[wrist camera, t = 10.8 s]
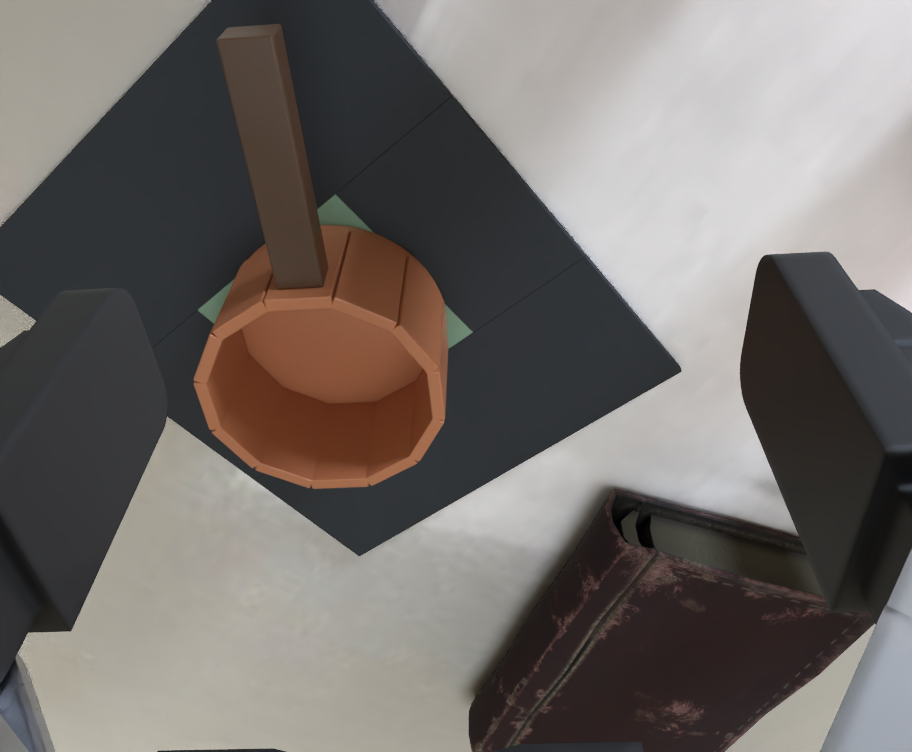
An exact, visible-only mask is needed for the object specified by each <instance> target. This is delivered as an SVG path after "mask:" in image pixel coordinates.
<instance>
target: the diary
mask: <svg viewBox="0 0 912 752" xmlns="http://www.w3.org/2000/svg"><path fill="white" fill-rule="evenodd" d="M873 624H875V622H874V620H873V618H872V616H871V613H870V612H851V613H831V612H830V610H829V607H828V605H827V603H826V600H825V598H824V595H823V593H822V590H821V588H820V586H819V583H818V581H817V578H816V576H815V574H814V571H813V569H812V566H811V564H810V561H809V559H808V557H807V554H806V552H805V549H804V547H803V544H802V542H801V540H800V539H799V538H796V537H792V536H788V535H784V534H780V533H777V532H773V531H769V530H765V529H762V528H758V527H754V526H750V525H746V524H743V523H739V522H735V521H731V520H728V519H724V518H720V517H716V516H712V515H709V514H705V513H701V512H697V511H694V510H690V509H686V508H682V507H679V506H675V505H671V504H667V503H663V502H660V501H656V500H652V499H648V498H647V499H646V500H645V499H644V498H643V497H641V496H637V495H633V494H629V493H626V492H622V491H618V490H614V491H613V492H611V494H610V495H609V497H608V498H607V500H606V502H605V503H604V505H603V506H602V508H601V509H600V511H599V513H598V514H597V516H596V517H595V519H594V521H593V522H592V524H591V525H590V527H589V529H588V530H587V532H586V534H585V535H584V537H583V538H582V540H581V542H580V543H579V545H578V546H577V548H576V550H575V551H574V553H573V554H572V556H571V558H570V559H569V561H568V562H567V564H566V565H565V567H564V568H563V569H562V571H561V572H560V574H559V575H558V577H557V578H556V579H555V581H554V582H553V584H552V585H551V586H550V588H549V589H548V591H547V592H546V593H545V595H544V596H543V598H542V599H541V601H540V602H539V603H538V605H537V606H536V608H535V609H534V610H533V612H532V613H531V615H530V616H529V618H528V620H527V621H526V623H525V624H524V626H523V628H522V629H521V631H520V633H519V634H518V636H517V638H516V639H515V641H514V642H513V644H512V646H511V647H510V649H509V651H508V652H507V654H506V656H505V657H504V659H503V661H502V662H501V663H500V665H499V666H498V668H497V669H496V670H495V672H494V673H493V674H492V676H491V677H490V678H489V680H488V681H487V683H486V684H485V685H484V687H483V688H482V689H481V691H480V692H479V693H478V695H477V696H476V698H475V699H474V701H473V702H472V704H471V707H470V710H469V738H470V744H471V750H472V752H493V751H497V750H500V749H504V748H507V747H511V746H514V745H518V744H545V743H597V742H642V746H643V752H725V751H726V750H727V749H728V748H729V747H730V746H731V745H732V744H733V743H735V742H736V741H737V740H738V739H739V738H740V737H741V736H742V735H743V734H744V733H746V732H747V731H748V730H749V729H750V728H751V727H752V726H753V725H754V724H755V723H756V722H758V721H759V720H760V719H761V718H762V717H763V716H764V715H765V714H767V713H768V712H769V711H771V710H772V709H773V708H775V707H776V706H777V705H779V704H780V703H781V702H783V701H784V700H785V699H787V698H788V697H789V696H791V695H792V694H793V693H795V692H796V691H797V690H799V689H800V688H801V687H803V686H804V685H805V684H807V683H808V682H810V681H811V680H812V679H814V678H815V677H816V676H818V675H819V674H820V673H821V672H822V671H823V670H824V669H825V668H827V667H828V666H829V665H830V664H831V663H832V662H833V661H834V660H835V659H836V658H837V657H839V656H840V655H841V654H842V653H843V652H844V651H845V650H846V649H847V648H848V647H849V646H851V645H852V644H853V643H854V642H855V641H856V640H857V639H858V638H859V637H860V636H861V635H863V634H864V633H865V632H866V631H867V630H868V629H869V628H870V627H871V626H872V625H873Z"/></svg>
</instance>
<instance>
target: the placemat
mask: <svg viewBox="0 0 912 752" xmlns="http://www.w3.org/2000/svg"><path fill="white" fill-rule="evenodd" d="M269 24H280V25H281V26H282V31H283V36H284V42H285V47H286V52H287V57H288V62H289V67H290V72H291V77H292V83H293V88H294V93H295V98H296V103H297V108H298V113H299V118H300V124H301V129H302V134H303V139H304V144H305V149H306V154H307V159H308V165H309V170H310V175H311V180H312V185H313V190H314V195H315V200H316V206H317V211H318V216H319V221H320V225H340V226H349V227H354V228H358V229H363V230H367V231H369V232H372V233H375V234H378V235H380V236H382V237H384V238H386V239H388V240H390V241H392V242H394V243H396V244H397V245H399V246H400V247H402V248H403V249H405V250H406V251H408V252H409V253H410V254H411V255H412V256H414V257H415V258H416V259H417V260H418V261H419V262H420V263H421V264H422V265H423V266H424V268H425V269H426V270H427V271H428V272H429V274H430V275H431V277H432V278H433V280H434V281H435V283H436V285H437V287H438V289H439V291H440V293H441V295H442V299H443V300H444V305H445V310H446V316H447V335H448V365H447V388H446V410H445V419H444V424H443V425H442V427H441V428H440V430H439V432H438V433H437V435H436V436H435V438H434V440H433V441H432V443H431V444H430V446H429V447H428V449H427V451H426V452H425V454H424V455H423V457H422V459H421V460H420V461H417V464H415V465H413V466H411V467H409V468H407V469H405V470H403V471H401V472H399V473H397V474H395V475H393V476H391V477H389V478H387V479H385V480H383V481H381V482H379V483H377V484H375V485H373V486H371V485H370V484H369V486H368V487H348V488H322V489H313V488H312V485H311V486H310V488H307V487H304V486H301V485H298V484H295V483H292V482H289V481H286V480H283V479H280V478H277V477H274V476H271V475H268V474H265V473H262V472H259V471H256V470H255V468H256V467H254V468H251V467H250V466H249V465H248V464H247V463H245V462H244V461H243V460H242V459H241V458H240V457H239V456H237V455H236V454H235V453H234V452H233V451H232V450H231V449H229V448H228V447H227V446H226V445H225V444H224V443H223V442H222V441H220V440H219V439H218V438H217V437H216V436H215V435H214V434H212V430H210V429H209V427H208V424H207V421H206V418H205V415H204V413H203V410H202V407H201V404H200V401H199V398H198V395H197V392H196V389H195V387H194V376H195V373H196V370H197V368H198V365H199V362H200V359H201V357H202V354H203V351H204V348H205V345H206V343H207V340H208V337H209V334H210V332H211V330H212V328H213V326H214V323H215V321H216V319H217V317H218V315H219V312H220V310H221V308H222V306H223V304H224V301H225V299H226V297H227V295H228V292H229V290H230V288H231V286H232V284H233V281H234V279H235V277H236V275H237V273H238V270H239V268H240V266H241V265H242V264H243V262H245V261H246V260H248V259H249V258H250V257H251V256H252V255H253V254H254V252H255V251H256V250H258V249H259V248H260V247H261V246H263V245H264V244H265V239H264V235H263V231H262V227H261V223H260V219H259V215H258V211H257V206H256V202H255V198H254V194H253V190H252V186H251V182H250V178H249V174H248V170H247V166H246V161H245V157H244V153H243V149H242V145H241V141H240V137H239V133H238V129H237V125H236V121H235V116H234V112H233V108H232V104H231V100H230V96H229V92H228V88H227V84H226V80H225V76H224V71H223V67H222V63H221V59H220V55H219V51H218V47H217V43H216V40H217V39H218V38H219V36H220V35H221V34H222V33H223V32H224V31H225V30H226V29H227V28H228V27H242V26H255V25H269ZM104 288H123V289H125V290H126V291H127V292H128V293H129V294H130V295H131V296H132V298H133V300H134V302H135V304H136V307H137V309H138V312H139V315H140V317H141V320H142V323H143V325H144V328H145V331H146V334H147V336H148V339H149V342H150V344H151V347H152V350H153V352H154V355H155V358H156V361H157V363H158V366H159V369H160V371H161V374H162V377H163V379H164V383H165V386H166V391H167V401H168V410H167V416H168V417H169V418H170V419H172V420H173V421H174V422H176V423H177V424H179V425H180V426H181V427H183V428H184V429H185V430H187V431H188V432H190V433H191V434H192V435H194V436H195V437H196V438H198V439H199V440H201V441H202V442H203V443H205V444H206V445H207V446H209V447H210V448H212V449H213V450H214V451H216V452H217V453H218V454H220V455H221V456H222V457H224V458H225V459H227V460H228V461H229V462H231V463H232V464H233V465H235V466H236V467H238V468H239V469H240V470H242V471H243V472H244V473H246V474H247V475H249V476H250V477H251V478H253V479H254V480H255V481H257V482H258V483H260V484H261V485H262V486H264V487H265V488H266V489H268V490H269V491H270V492H272V493H273V494H275V495H276V496H277V497H279V498H280V499H281V500H283V501H284V502H286V503H287V504H288V505H290V506H291V507H292V508H294V509H295V510H297V511H298V512H299V513H301V514H302V515H303V516H305V517H306V518H308V519H309V520H310V521H312V522H313V523H314V524H316V525H317V526H318V527H320V528H321V529H323V530H324V531H325V532H327V533H328V534H329V535H331V536H332V537H334V538H335V539H336V540H338V541H339V542H340V543H342V544H343V545H345V546H346V547H347V548H349V549H350V550H351V551H353V552H354V553H355V554H357V555H358V556H361V555H362V554H364V553H366V552H368V551H369V550H371V549H373V548H375V547H376V546H378V545H380V544H382V543H383V542H385V541H387V540H389V539H390V538H392V537H394V536H395V535H397V534H399V533H401V532H402V531H404V530H406V529H408V528H409V527H411V526H413V525H415V524H416V523H418V522H420V521H422V520H423V519H425V518H427V517H429V516H430V515H432V514H434V513H436V512H437V511H439V510H441V509H443V508H444V507H446V506H448V505H450V504H451V503H453V502H455V501H457V500H458V499H460V498H462V497H463V496H465V495H467V494H469V493H470V492H472V491H474V490H476V489H477V488H479V487H481V486H483V485H484V484H486V483H488V482H490V481H491V480H493V479H495V478H497V477H498V476H500V475H502V474H504V473H505V472H507V471H509V470H511V469H512V468H514V467H516V466H518V465H519V464H521V463H523V462H525V461H526V460H528V459H530V458H531V457H533V456H535V455H537V454H538V453H540V452H542V451H544V450H545V449H547V448H549V447H551V446H552V445H554V444H556V443H558V442H559V441H561V440H563V439H565V438H566V437H568V436H570V435H572V434H573V433H575V432H577V431H579V430H580V429H582V428H584V427H586V426H587V425H589V424H591V423H593V422H594V421H596V420H598V419H599V418H601V417H603V416H605V415H606V414H608V413H610V412H612V411H613V410H615V409H617V408H619V407H620V406H622V405H624V404H626V403H627V402H629V401H631V400H633V399H634V398H636V397H638V396H640V395H641V394H643V393H645V392H647V391H648V390H650V389H652V388H654V387H655V386H657V385H659V384H661V383H662V382H664V381H666V380H667V379H669V378H671V377H673V376H674V375H676V374H678V373H680V372H681V368H680V366H679V365H678V364H677V363H676V361H675V360H674V359H673V358H672V357H671V355H670V354H669V353H668V352H667V351H666V349H665V348H664V347H663V346H662V345H661V344H660V342H659V341H658V340H657V339H656V338H655V336H654V335H653V334H652V333H651V332H650V330H649V329H648V328H647V327H646V326H645V324H644V323H643V322H642V321H641V320H640V318H639V317H638V316H637V315H636V314H635V312H634V311H633V310H632V309H631V308H630V307H629V305H628V304H627V303H626V302H625V301H624V299H623V298H622V297H621V296H620V295H619V293H618V292H617V291H616V290H615V289H614V287H613V286H612V285H611V284H610V283H609V281H608V280H607V279H606V278H605V277H604V276H603V274H602V273H601V272H600V271H599V270H598V268H597V267H596V266H595V265H594V264H593V262H592V261H591V260H590V259H589V258H588V256H587V255H586V254H585V253H584V252H583V250H582V249H581V248H580V247H579V246H578V244H577V243H576V242H575V241H574V240H573V239H572V237H571V236H570V235H569V234H568V233H567V231H566V230H565V229H564V228H563V227H562V225H561V224H560V223H559V222H558V221H557V219H556V218H555V217H554V216H553V215H552V213H551V212H550V211H549V210H548V209H547V207H546V206H545V205H544V204H543V203H542V202H541V200H540V199H539V198H538V197H537V196H536V194H535V193H534V192H533V191H532V190H531V188H530V187H529V186H528V185H527V184H526V182H525V181H524V180H523V179H522V178H521V176H520V175H519V174H518V173H517V172H516V170H515V169H514V168H513V167H512V166H511V165H510V163H509V162H508V161H507V160H506V159H505V157H504V156H503V155H502V154H501V153H500V151H499V150H498V149H497V148H496V147H495V145H494V144H493V143H492V142H491V141H490V139H489V138H488V137H487V136H486V135H485V134H484V132H483V131H482V130H481V129H480V128H479V126H478V125H477V124H476V123H475V122H474V120H473V119H472V118H471V117H470V116H469V114H468V113H467V112H466V111H465V110H464V108H463V107H462V106H461V105H460V104H459V102H458V101H457V100H456V99H455V98H454V97H453V95H451V93H450V92H449V91H448V89H447V88H446V87H445V86H444V85H443V83H442V82H441V81H440V80H439V79H438V77H437V76H436V75H435V74H434V73H433V71H432V70H431V69H430V68H429V67H428V65H427V64H426V63H425V62H424V61H423V60H422V58H421V57H420V56H419V55H418V54H417V52H416V51H415V50H414V49H413V48H412V46H411V45H410V44H409V43H408V42H407V40H406V39H405V38H404V37H403V36H402V34H401V33H400V32H399V31H398V30H397V29H396V27H395V26H394V25H393V24H392V23H391V21H390V20H389V19H388V18H387V17H386V15H385V14H384V13H383V12H382V11H381V9H380V8H379V7H378V6H377V5H376V3H375V2H374V1H373V0H212V1H211V2H210V3H209V4H208V5H207V7H206V8H205V9H204V10H203V11H202V12H201V13H200V14H199V15H198V16H197V17H196V18H195V19H194V20H193V22H192V23H191V24H190V25H189V26H188V27H187V28H186V29H185V30H184V31H183V32H182V33H181V34H180V36H179V37H178V38H177V39H176V40H175V41H174V42H173V43H172V44H171V45H170V46H169V47H168V48H167V49H166V51H165V52H164V53H163V54H162V55H161V56H160V57H159V58H158V59H157V60H156V61H155V62H154V63H153V64H152V66H151V67H150V68H149V69H148V70H147V71H146V72H145V73H144V74H143V75H142V76H141V77H140V78H139V80H138V81H137V82H136V83H135V84H134V85H133V86H132V87H131V88H130V89H129V90H128V91H127V92H126V93H125V95H124V96H123V97H122V98H121V99H120V100H119V101H118V102H117V103H116V104H115V105H114V106H113V107H112V108H111V110H110V111H109V112H108V113H107V114H106V115H105V116H104V117H103V118H102V119H101V120H100V121H99V122H98V123H97V125H96V126H95V127H94V128H93V129H92V130H91V131H90V132H89V133H88V134H87V135H86V136H85V137H84V139H83V140H82V141H81V142H80V143H79V144H78V145H77V146H76V147H75V148H74V149H73V150H72V151H71V152H70V154H69V155H68V156H67V157H66V158H65V159H64V160H63V161H62V162H61V163H60V164H59V165H58V166H57V167H56V169H55V170H54V171H53V172H52V173H51V174H50V175H49V176H48V177H47V178H46V179H45V180H44V181H43V183H42V184H41V185H40V186H39V187H38V188H37V189H36V190H35V191H34V192H33V193H32V194H31V195H30V196H29V198H28V199H27V200H26V201H25V202H24V203H23V204H22V205H21V206H20V207H19V208H18V209H17V210H16V211H15V213H14V214H13V215H12V216H11V217H10V218H9V219H8V220H7V221H6V222H5V223H4V224H3V225H2V227H1V228H0V295H2V296H3V297H4V298H6V299H7V300H9V301H10V302H11V303H13V304H14V305H15V306H17V307H18V308H20V309H21V310H22V311H24V312H25V313H26V314H28V315H29V316H30V317H32V318H33V319H35V320H36V321H37V320H38V318H39V317H40V316H41V315H42V313H43V312H44V311H45V309H46V308H47V307H48V305H49V304H50V303H51V301H52V300H53V299H54V298H55V296H56V295H57V294H58V293H60V292H62V291H66V290H85V289H104Z"/></svg>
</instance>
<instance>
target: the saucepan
mask: <svg viewBox="0 0 912 752" xmlns="http://www.w3.org/2000/svg"><path fill="white" fill-rule="evenodd" d="M216 43H217V47H218V51H219V55H220V59H221V63H222V67H223V71H224V76H225V80H226V84H227V88H228V92H229V96H230V100H231V104H232V108H233V112H234V116H235V121H236V125H237V129H238V133H239V137H240V141H241V145H242V149H243V153H244V157H245V161H246V166H247V170H248V174H249V178H250V182H251V186H252V190H253V194H254V198H255V202H256V206H257V211H258V215H259V219H260V223H261V227H262V231H263V235H264V239H265V244H264V245H263V246H261V247H260V248H259V249H258V250H256V251H255V252H254V254H253V255H252V256H251V257H250V258H249V259H248V260H246V261H245V262H243V264H242V265H241V266H240V268H239V270H238V273H237V275H236V277H235V279H234V281H233V284H232V286H231V288H230V290H229V292H228V295H227V297H226V299H225V301H224V304H223V306H222V308H221V310H220V312H219V315H218V317H217V319H216V321H215V323H214V326H213V328H212V330H211V332H210V334H209V337H208V340H207V343H206V345H205V348H204V351H203V354H202V357H201V359H200V362H199V365H198V368H197V370H196V373H195V376H194V387H195V389H196V392H197V395H198V398H199V401H200V404H201V407H202V410H203V413H204V415H205V418H206V421H207V424H208V427H209V429H210V430H212V434H214V435H215V436H216V437H217V438H218V439H219V440H220V441H222V442H223V443H224V444H225V445H226V446H227V447H228V448H229V449H231V450H232V451H233V452H234V453H235V454H236V455H237V456H239V457H240V458H241V459H242V460H243V461H244V462H245V463H247V464H248V465H249V466H250V467H251V468H254V467H256V468H255V470H256V471H259V472H262V473H265V474H268V475H271V476H274V477H277V478H280V479H283V480H286V481H289V482H292V483H295V484H298V485H301V486H304V487H307V488H310V486H311V485H312V488H313V489H322V488H348V487H368V486H369V484H370V485H371V486H373V485H375V484H377V483H379V482H381V481H383V480H385V479H387V478H389V477H391V476H393V475H395V474H397V473H399V472H401V471H403V470H405V469H407V468H409V467H411V466H413V465H415V464H417V461H420V460H421V459H422V457H423V455H424V454H425V452H426V451H427V449H428V447H429V446H430V444H431V443H432V441H433V440H434V438H435V436H436V435H437V433H438V432H439V430H440V428H441V427H442V425H443V424H444V419H445V410H446V388H447V365H448V335H447V316H446V310H445V305H444V300H443V299H442V295H441V293H440V291H439V289H438V287H437V285H436V283H435V281H434V280H433V278H432V277H431V275H430V274H429V272H428V271H427V270H426V269H425V268H424V266H423V265H422V264H421V263H420V262H419V261H418V260H417V259H416V258H415V257H414V256H412V255H411V254H410V253H409V252H408V251H406V250H405V249H403V248H402V247H400V246H399V245H397V244H396V243H394V242H392V241H390V240H388V239H386V238H384V237H382V236H380V235H378V234H375V233H372V232H369V231H367V230H363V229H358V228H354V227H349V226H340V225H320V221H319V216H318V211H317V206H316V200H315V195H314V190H313V185H312V180H311V175H310V170H309V165H308V159H307V154H306V149H305V144H304V139H303V134H302V129H301V124H300V118H299V113H298V108H297V103H296V98H295V93H294V88H293V83H292V77H291V72H290V67H289V62H288V57H287V52H286V47H285V42H284V36H283V31H282V26H281V25H280V24H269V25H255V26H242V27H228V28H227V29H226V30H225V31H224V32H223V33H222V34H221V35H220V36H219V38H218V39H217V40H216Z"/></svg>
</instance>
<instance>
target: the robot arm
mask: <svg viewBox="0 0 912 752" xmlns="http://www.w3.org/2000/svg"><path fill="white" fill-rule="evenodd" d="M740 381H741V390H742V395H743V400H744V403H745V406H746V409H747V411H748V413H749V416H750V418H751V421H752V423H753V426H754V428H755V430H756V433H757V435H758V438H759V440H760V443H761V445H762V447H763V450H764V452H765V455H766V457H767V460H768V462H769V464H770V467H771V469H772V472H773V474H774V477H775V479H776V481H777V484H778V486H779V489H780V491H781V493H782V496H783V498H784V501H785V503H786V506H787V508H788V510H789V513H790V515H791V518H792V520H793V523H794V525H795V527H796V530H797V532H798V535H799V537H800V540H801V542H802V544H803V547H804V549H805V552H806V554H807V557H808V559H809V561H810V564H811V566H812V569H813V571H814V574H815V576H816V578H817V581H818V583H819V586H820V588H821V590H822V593H823V595H824V598H825V600H826V603H827V605H828V607H829V610H830V612H831V613H851V612H870V613H871V616H872V618H873V620H874V622H875V624H876V626H875V629H874V631H873V633H872V635H871V638H870V640H869V642H868V644H867V647H866V649H865V651H864V653H863V656H862V658H861V660H860V662H859V665H858V667H857V669H856V671H855V674H854V676H853V678H852V680H851V683H850V685H849V687H848V690H847V692H846V694H845V696H844V699H843V701H842V703H841V705H840V708H839V710H838V712H837V714H836V717H835V719H834V721H833V723H832V726H831V728H830V730H829V732H828V735H827V737H826V739H825V741H824V744H823V746H822V748H821V750H820V752H912V313H911V312H910V311H908V310H906V309H905V308H903V307H902V306H900V305H899V304H897V303H895V302H894V301H892V300H891V299H889V298H887V297H886V296H884V295H883V294H881V293H880V292H878V291H876V290H875V289H874V290H858V289H857V288H856V286H855V285H854V283H853V282H852V281H851V279H850V278H849V276H848V275H847V274H846V272H845V271H844V269H843V268H842V266H841V265H840V264H839V262H838V261H837V259H836V258H835V257H834V256H833V254H831V253H830V252H810V253H791V254H772V255H765V256H763V257H762V259H761V260H760V262H759V264H758V267H757V271H756V276H755V281H754V287H753V292H752V298H751V304H750V309H749V315H748V320H747V326H746V332H745V337H744V343H743V348H742V354H741V362H740ZM167 410H168V401H167V391H166V386H165V383H164V379H163V377H162V374H161V371H160V369H159V366H158V363H157V361H156V358H155V355H154V352H153V350H152V347H151V344H150V342H149V339H148V336H147V334H146V331H145V328H144V325H143V323H142V320H141V317H140V315H139V312H138V309H137V307H136V304H135V302H134V300H133V298H132V296H131V295H130V294H129V293H128V292H127V291H126V290H125V289H123V288H104V289H85V290H66V291H62V292H60V293H58V294H57V295H56V296H55V298H54V299H53V300H52V301H51V303H50V304H49V305H48V307H47V308H46V309H45V311H44V312H43V313H42V315H41V316H40V317H39V318H38V320H37V321H36V322H35V324H34V325H33V326H32V328H31V329H30V330H27V331H23V332H22V333H21V334H19V335H18V336H16V337H15V338H14V339H12V340H11V341H9V342H8V343H7V344H5V345H4V346H2V347H1V348H0V752H55V749H54V746H53V743H52V740H51V737H50V734H49V731H48V728H47V725H46V722H45V719H44V717H43V714H42V711H41V708H40V705H39V702H38V699H37V696H36V693H35V690H34V687H33V684H32V681H31V678H30V675H29V672H28V669H27V667H26V665H25V663H24V662H23V660H22V659H21V657H20V656H19V654H18V651H19V649H20V647H21V645H22V643H23V641H24V639H25V637H26V635H27V633H28V632H61V631H71V630H72V628H73V626H74V624H75V621H76V619H77V617H78V615H79V613H80V611H81V608H82V606H83V604H84V602H85V600H86V597H87V595H88V593H89V591H90V589H91V587H92V584H93V582H94V580H95V578H96V576H97V573H98V571H99V569H100V567H101V565H102V562H103V560H104V558H105V556H106V554H107V552H108V549H109V547H110V545H111V543H112V541H113V538H114V536H115V534H116V532H117V530H118V528H119V525H120V523H121V521H122V519H123V517H124V514H125V512H126V510H127V508H128V506H129V504H130V501H131V499H132V497H133V495H134V493H135V490H136V488H137V486H138V484H139V482H140V479H141V477H142V475H143V473H144V471H145V469H146V466H147V464H148V462H149V460H150V458H151V455H152V453H153V451H154V449H155V447H156V445H157V442H158V440H159V438H160V436H161V434H162V431H163V429H164V426H165V423H166V418H167ZM158 752H285V751H281V750H277V749H228V750H175V751H158ZM493 752H643V746H642V742H597V743H545V744H518V745H514V746H511V747H507V748H504V749H500V750H497V751H493Z"/></svg>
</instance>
